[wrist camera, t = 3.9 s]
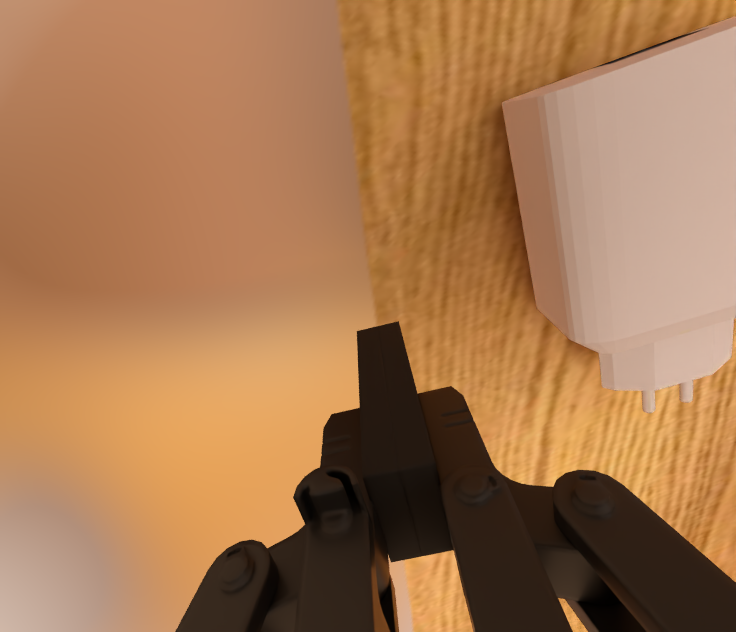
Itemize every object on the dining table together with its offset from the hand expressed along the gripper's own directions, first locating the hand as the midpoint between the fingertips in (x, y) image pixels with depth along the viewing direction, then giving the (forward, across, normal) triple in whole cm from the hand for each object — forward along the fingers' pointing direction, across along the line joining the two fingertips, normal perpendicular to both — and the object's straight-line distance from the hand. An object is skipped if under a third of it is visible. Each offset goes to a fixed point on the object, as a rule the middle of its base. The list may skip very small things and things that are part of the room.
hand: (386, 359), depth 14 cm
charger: (+5, +12, 0) cm, 13 cm away
